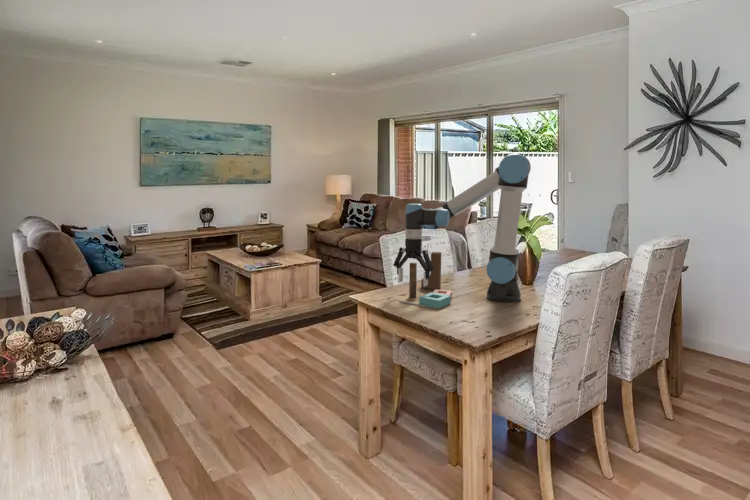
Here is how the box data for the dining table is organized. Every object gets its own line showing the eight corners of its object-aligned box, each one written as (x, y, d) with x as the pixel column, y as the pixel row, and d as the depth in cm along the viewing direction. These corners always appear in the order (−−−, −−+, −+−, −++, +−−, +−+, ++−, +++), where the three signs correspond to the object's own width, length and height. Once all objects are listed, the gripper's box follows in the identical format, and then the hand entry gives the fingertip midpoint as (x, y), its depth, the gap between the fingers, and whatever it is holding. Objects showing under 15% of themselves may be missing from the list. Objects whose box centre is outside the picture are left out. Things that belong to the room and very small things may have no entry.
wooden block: (421, 288, 243) (421, 252, 240) (422, 286, 248) (423, 251, 245) (439, 289, 241) (440, 253, 238) (440, 287, 245) (441, 252, 242)
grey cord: (426, 306, 212) (426, 305, 212) (425, 307, 211) (425, 305, 211) (399, 301, 220) (399, 300, 220) (398, 301, 220) (398, 300, 219)
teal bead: (450, 303, 217) (450, 295, 216) (439, 308, 209) (439, 300, 208) (430, 299, 223) (430, 292, 222) (419, 304, 215) (419, 297, 214)
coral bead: (452, 297, 228) (452, 290, 227) (449, 301, 220) (449, 295, 219) (434, 295, 230) (435, 289, 229) (431, 300, 222) (431, 293, 222)
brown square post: (417, 297, 228) (418, 263, 225) (413, 298, 225) (414, 264, 222) (411, 296, 229) (412, 262, 227) (407, 297, 227) (408, 263, 224)
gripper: (386, 236, 227) (385, 281, 231) (433, 241, 212) (432, 289, 216) (395, 234, 233) (395, 278, 236) (441, 239, 218) (440, 286, 222)
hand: (412, 283), depth 226 cm, fingers open, 13 cm apart
